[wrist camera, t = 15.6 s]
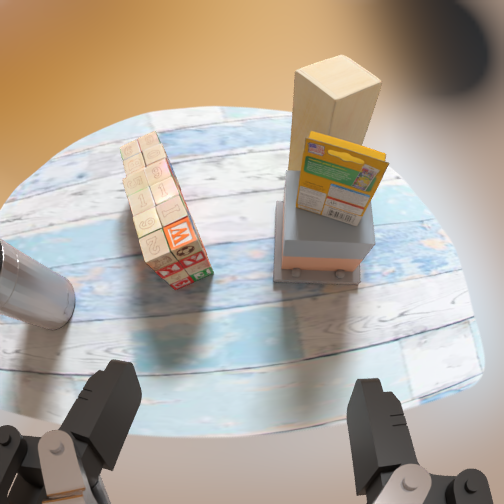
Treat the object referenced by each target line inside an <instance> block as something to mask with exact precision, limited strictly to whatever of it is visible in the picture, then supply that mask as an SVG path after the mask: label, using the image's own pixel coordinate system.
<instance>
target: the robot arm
mask: <svg viewBox="0 0 504 504" xmlns="http://www.w3.org/2000/svg"><path fill="white" fill-rule="evenodd" d="M74 305H75V294H74V290H73V287H72V285H71V283H70V282H69V280H67V279H66V278H65V277H63V276H61V275H60V274H58V273H56V272H54V271H53V270H51V269H49V268H48V267H46V266H44V265H42V264H41V263H39V262H37V261H36V260H34V259H32V258H31V257H29V256H27V255H26V254H24V253H22V252H21V251H19V250H18V249H16V248H14V247H13V246H11V245H10V244H8V243H6V242H5V241H3V240H2V239H0V314H2V315H5V316H8V317H11V318H14V319H17V320H20V321H23V322H26V323H30V324H33V325H36V326H39V327H43V328H47V329H50V330H56V329H59V328H61V327H62V326H64V325H65V324H66V323H67V322H68V320H69V319H70V317H71V315H72V313H73V309H74ZM141 398H142V392H141V387H140V384H139V381H138V378H137V375H136V372H135V369H134V366H133V364H132V363H130V362H125V361H120V360H114V359H113V360H111V361H110V362H109V364H108V365H107V367H106V369H105V370H104V371H101V370H99V371H98V372H96V373H95V374H94V375H93V376H91V377H90V378H89V379H88V381H87V383H86V384H85V386H84V388H83V390H82V391H81V393H80V394H79V396H78V399H76V401H75V403H74V404H73V406H72V408H71V409H70V411H69V413H68V415H67V416H66V418H65V420H64V422H63V423H62V425H61V427H60V428H59V429H58V430H52V431H49V432H47V433H46V434H44V435H43V436H42V437H32V436H22V435H21V434H20V433H19V431H18V430H17V429H16V428H15V427H13V426H10V425H5V426H1V427H0V504H111V502H110V500H109V497H108V495H107V492H106V490H105V487H104V484H103V481H102V478H101V477H100V473H101V470H102V468H104V469H108V470H111V471H113V469H114V466H115V464H116V461H117V459H118V456H119V454H120V451H121V449H122V446H123V444H124V441H125V439H126V437H127V434H128V432H129V429H130V427H131V424H132V422H133V420H134V417H135V415H136V413H137V410H138V408H139V406H140V403H141ZM347 424H348V431H349V438H350V445H351V452H352V460H353V467H354V476H355V485H356V494H357V496H358V495H366V497H367V503H366V504H493V500H492V496H491V492H490V488H489V484H488V481H487V478H486V476H485V475H484V474H483V473H482V472H481V471H479V470H477V469H466V470H464V471H462V472H461V473H459V474H458V475H457V476H441V475H433V474H430V473H428V471H427V470H426V469H425V468H423V467H422V466H420V465H419V463H418V462H417V458H416V455H415V451H414V448H413V444H412V440H411V436H410V433H409V429H408V426H406V424H407V423H406V419H405V416H404V413H403V409H402V406H401V403H400V401H399V400H398V399H397V398H396V396H395V395H394V394H393V393H392V392H383V389H382V386H381V382H380V380H379V379H378V378H371V379H357V381H356V383H355V386H354V389H353V392H352V395H351V398H350V401H349V404H348V407H347ZM16 473H18V475H17V477H16V479H15V481H14V484H13V486H12V488H11V491H10V493H9V495H8V498H7V494H8V490H9V489H10V487H11V484H12V482H13V480H14V477H15V475H16Z"/></svg>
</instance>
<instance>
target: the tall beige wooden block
mask: <svg viewBox="0 0 504 504" xmlns="http://www.w3.org/2000/svg"><path fill="white" fill-rule="evenodd" d="M381 85H382V81H381V80H380V79H378V78H377V77H376V76H374V75H373V74H372V73H370V72H369V71H367V70H366V69H364V68H363V67H362V66H360V65H359V64H357V63H355V62H354V61H353V60H351V59H350V58H348V57H346V56H345V55H339V56H336V57H333V58H330V59H326V60H323V61H320V62H317V63H315V64H312V65H309V66H306V67H303V68H300V69H298V70H296V71H295V80H294V97H293V112H292V128H291V142H290V154H289V166H288V170H293V171H301V164H302V157H303V150H304V146H305V138H308V137H309V134H310V131H314V132H317V133H321V134H324V135H328V136H331V137H335V138H338V139H342V140H345V141H348V142H352V143H355V144H358V145H361V146H362V143H363V140H364V137H365V134H366V132H367V129H368V126H369V123H370V120H371V116H372V114H373V111H374V108H375V105H376V101H377V99H378V95H379V92H380V89H381Z"/></svg>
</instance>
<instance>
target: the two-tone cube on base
mask: <svg viewBox="0 0 504 504" xmlns="http://www.w3.org/2000/svg"><path fill="white" fill-rule="evenodd" d="M299 178H300V171H293V170H286V178H285V192H284V201H277V202H276V231H275V257H274V280H273V282H290V283H318V284H352V285H358V284H359V283H360V282H361V281H360V263H361V262H362V260H363V259H364V258H365V256H366V255H367V254H368V253H369V251H370V250H371V249H372V248H373V246H374V245H375V235H374V225H373V216H372V207H371V201H370V203H369V205H368V207H367V209H366V211H365V213H364V215H363V216H362V218H361V220H360V222H359V224H358V225H357V226H353V225H351V224H348V223H345V222H341V221H338V220H335V219H332V218H329V217H326V216H323V215H320V214H316V213H313V212H310V211H307V210H303V209H299V208H296V199H297V193H298V185H299Z"/></svg>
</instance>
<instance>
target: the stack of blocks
mask: <svg viewBox="0 0 504 504" xmlns="http://www.w3.org/2000/svg"><path fill="white" fill-rule="evenodd" d="M120 152H121V156H122V159H123V165H124V169H125V173H126V178H124V179H123V184H124V188H125V191H126V195H127V197H128V200H129V204H130V207H131V211H132V214H133V221H134V225H135V228H136V232H137V235H138V238H139V243H140V247H141V250H142V254H143V257H144V260H145V262H146V264H147V265H149V266H150V267H151V268H152V269H153V270H154V271H155V272H156V273H157V274H158V275H159V276H160V277H161V278H162V279H164V280H165V281H166V282H167V283H168V284H169V285H170V286H171V287H172V288H173V289H174V290H177V289H179V288H181V287H184V286H186V285H188V284H191V283H193V282H194V281H197V280H199V279H201V278H204V277H206V276H209V275H211V274H213V273H214V272H213V269H212V267H211V264H210V262H209V259H208V257H207V253H206V251H205V248H204V246H203V243H202V241H201V238H200V236H199V233H198V230H197V228H196V225H195V223H194V221H193V219H192V217H191V215H190V212H189V210H188V207H187V205H186V203H185V201H184V198H183V195H182V193H181V188H180V185H179V183H178V180H177V177H176V175H175V173H174V171H173V168H172V165H171V163H170V161H169V159H168V156H167V154H166V152H165V149H164V147H163V145H162V143H161V142H160V140H159V138H158V135H157V133H156V131H153V132H151V133H149V134H147V135H144V136H142V137H140V138H138V139H137V140H134V141H132V142H130V143H128V144H126V145H124V146H122V147H120Z"/></svg>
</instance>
